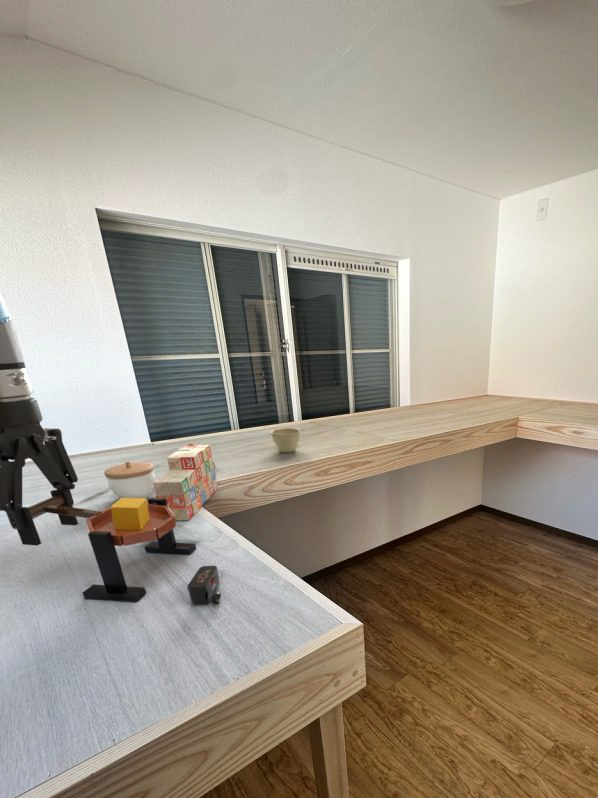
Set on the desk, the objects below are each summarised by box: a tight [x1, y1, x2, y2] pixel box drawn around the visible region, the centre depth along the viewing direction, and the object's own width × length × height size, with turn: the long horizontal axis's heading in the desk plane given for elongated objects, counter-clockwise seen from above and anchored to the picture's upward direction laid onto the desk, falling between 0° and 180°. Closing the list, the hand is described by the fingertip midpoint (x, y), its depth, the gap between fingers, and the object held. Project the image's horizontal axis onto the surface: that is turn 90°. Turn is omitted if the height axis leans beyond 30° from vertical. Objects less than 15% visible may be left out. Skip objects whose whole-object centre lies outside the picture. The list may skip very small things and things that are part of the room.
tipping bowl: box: [27, 495, 177, 547], centre depth 70 cm, size 23×13×2 cm, turn 84°
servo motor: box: [187, 565, 222, 606], centre depth 66 cm, size 5×7×3 cm, turn 3°
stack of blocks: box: [153, 444, 218, 521], centre depth 100 cm, size 21×6×12 cm, turn 4°
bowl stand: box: [81, 497, 197, 603], centre depth 71 cm, size 9×18×11 cm, turn 173°
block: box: [109, 497, 150, 530], centre depth 69 cm, size 4×4×4 cm
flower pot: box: [270, 427, 301, 453], centre depth 147 cm, size 10×10×7 cm
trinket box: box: [103, 461, 156, 499], centre depth 105 cm, size 11×11×9 cm
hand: (51, 533), depth 72 cm, fingers closed on tipping bowl, 7 cm apart
